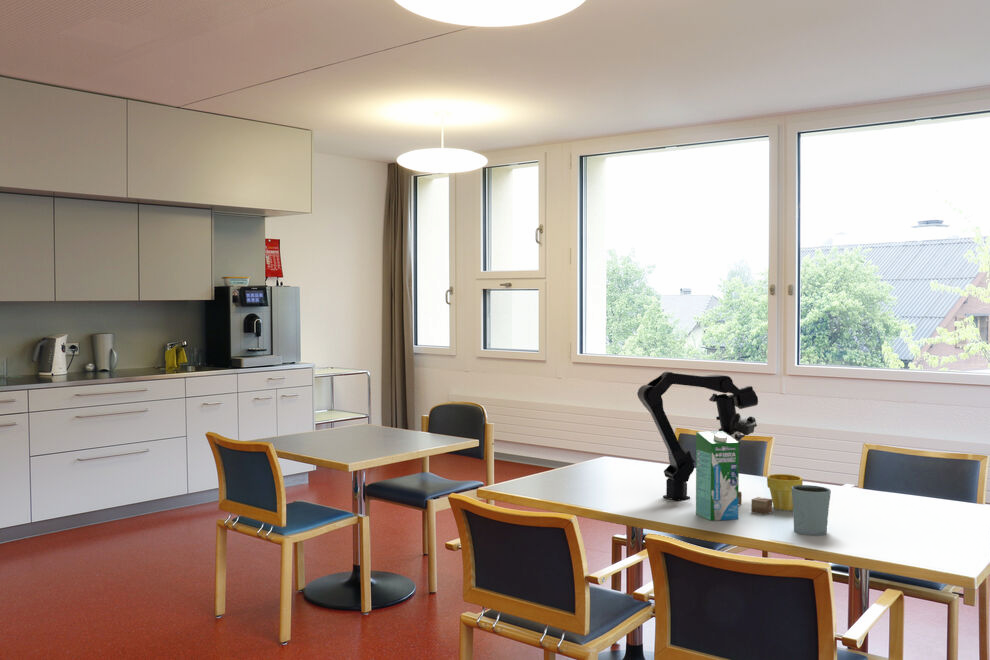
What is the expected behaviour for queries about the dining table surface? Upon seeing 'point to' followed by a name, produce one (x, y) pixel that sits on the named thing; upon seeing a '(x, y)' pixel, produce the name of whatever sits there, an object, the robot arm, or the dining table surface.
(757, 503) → the marked block
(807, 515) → the grey cup
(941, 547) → the dining table surface
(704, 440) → the milk carton
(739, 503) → the marked block
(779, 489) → the plant pot
